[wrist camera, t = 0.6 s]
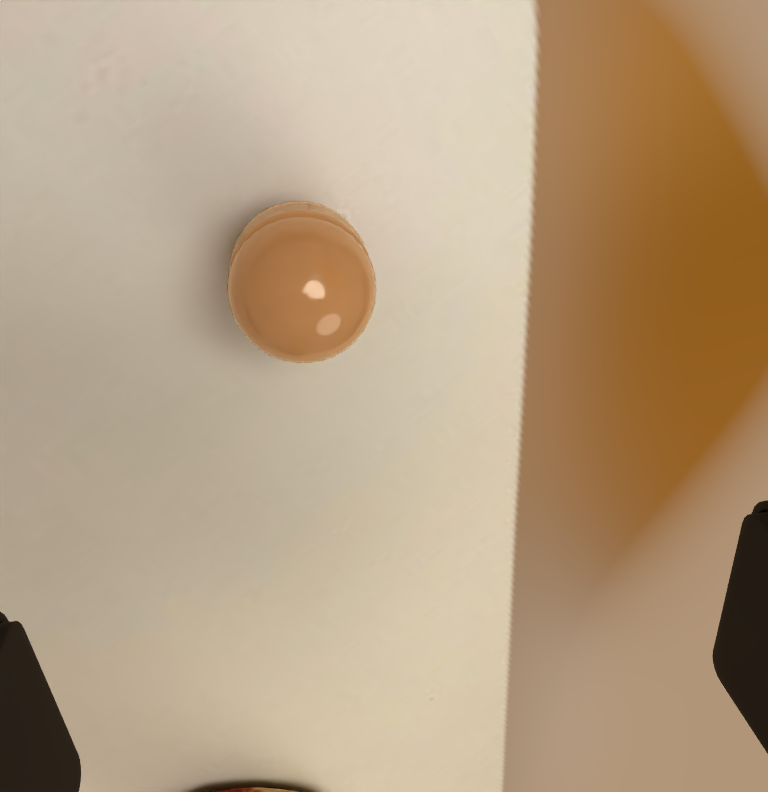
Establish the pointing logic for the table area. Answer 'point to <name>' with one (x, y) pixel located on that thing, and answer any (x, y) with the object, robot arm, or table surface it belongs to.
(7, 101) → the table surface
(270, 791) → the food model
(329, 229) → the egg
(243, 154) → the table surface
